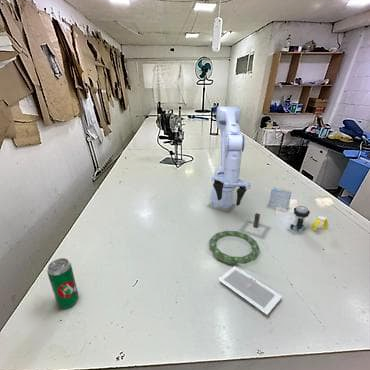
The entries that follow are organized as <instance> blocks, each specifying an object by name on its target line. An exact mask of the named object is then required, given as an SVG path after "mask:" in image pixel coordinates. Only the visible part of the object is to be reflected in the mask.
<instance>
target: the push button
mask: <svg viewBox="0 0 370 370" xmlns="http://www.w3.org/2000/svg"><path fill="white" fill-rule="evenodd" d="M293 214H294V216H295V217H294V221H293V223H291V224H290V226H289V229H290V230H292V231H293V232H295V231H298V232H301V231H302V230H305V228H307V225H304V224H305V219H306V218H308V217H309V215H310V214H311V211H310V210H309V209H308V208H307V206H305V205H298V206H296V207H294V208H293Z"/></svg>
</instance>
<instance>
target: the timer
mask: <svg viewBox="0 0 370 370" xmlns="http://www.w3.org/2000/svg"><path fill="white" fill-rule="evenodd" d="M320 222H323V224H322V226H321V228H322V229H324V230H326V229H327V227H328V225H329V220H328V219H327V217H326V216H325V215H318V216H317V219H315V221H314V222H313V224H312V230H313V231H315V232H317V227H318V225H319V223H320Z"/></svg>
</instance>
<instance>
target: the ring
mask: <svg viewBox="0 0 370 370" xmlns="http://www.w3.org/2000/svg"><path fill="white" fill-rule="evenodd" d="M226 237H236V238H239V239H242V240H245V241H246V242H247V243H248V244H249V245H250V247H251V251H250V252H249V254H246V255H243V256H233V255H232V256H231V255H229V254H227V253H224V252H221V251H222V250H220V249H219V248H218V246H217V243H218V241H219V240H220V239H222V238H223V239H224V238H226ZM259 246H260V245H259V243H258V241H256V240H255V239H254V238H253V237H252V236H250V235H249V234H247V233H244V232H241V231H238V230H222V231H220V232H217V233H214V235H212V237H211V238H210V239H209V240H208V249H209V251H210V252H211V253H212V255H213V256H214V257H215V258H216V259H217V260H218V261H221V262H223V263H225V264H227V265H232V266H233V265H234V266H240V265H245V264H248V263H251V262H253V261H255V260H257V258H258V256H260V255H259V254H260V253H261V249H260V247H259Z"/></svg>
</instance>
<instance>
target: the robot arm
mask: <svg viewBox="0 0 370 370" xmlns="http://www.w3.org/2000/svg"><path fill="white" fill-rule="evenodd" d="M215 113H216V115H215V118H216V119H215V120H216V121H215V124H216V129H218V130H219V131H220V135H221V141H220V142H221V146H220V148H221V149H220V166H219V167H217V168H216V169H215V171H214V175H212V176H211V182H213V183H212V187H211V190H210V197H209V205H214V206H216V207H219V208H221V209H228V208H231V207H232V205H233V198H234V197H233V196H234V191H235V189H236V203H235V206H238V207H239V206H240V205H241V201H242V199H243V197H244V195H245V193H246V192H247V191H249V190H250V189H251V186H252V185H251V182H249V181H248V182H247V181H245V180H242V179H240V172H241V171H240V170H241V162H242V155H243V152H244V150H245V146H246V137H245V134H243V133H242V132H241V131H242V130H241V126H240V125H239V124H240V120H241V115H242V109H241V107H240V106H220V105H218V106H217V108H216V112H215Z"/></svg>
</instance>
